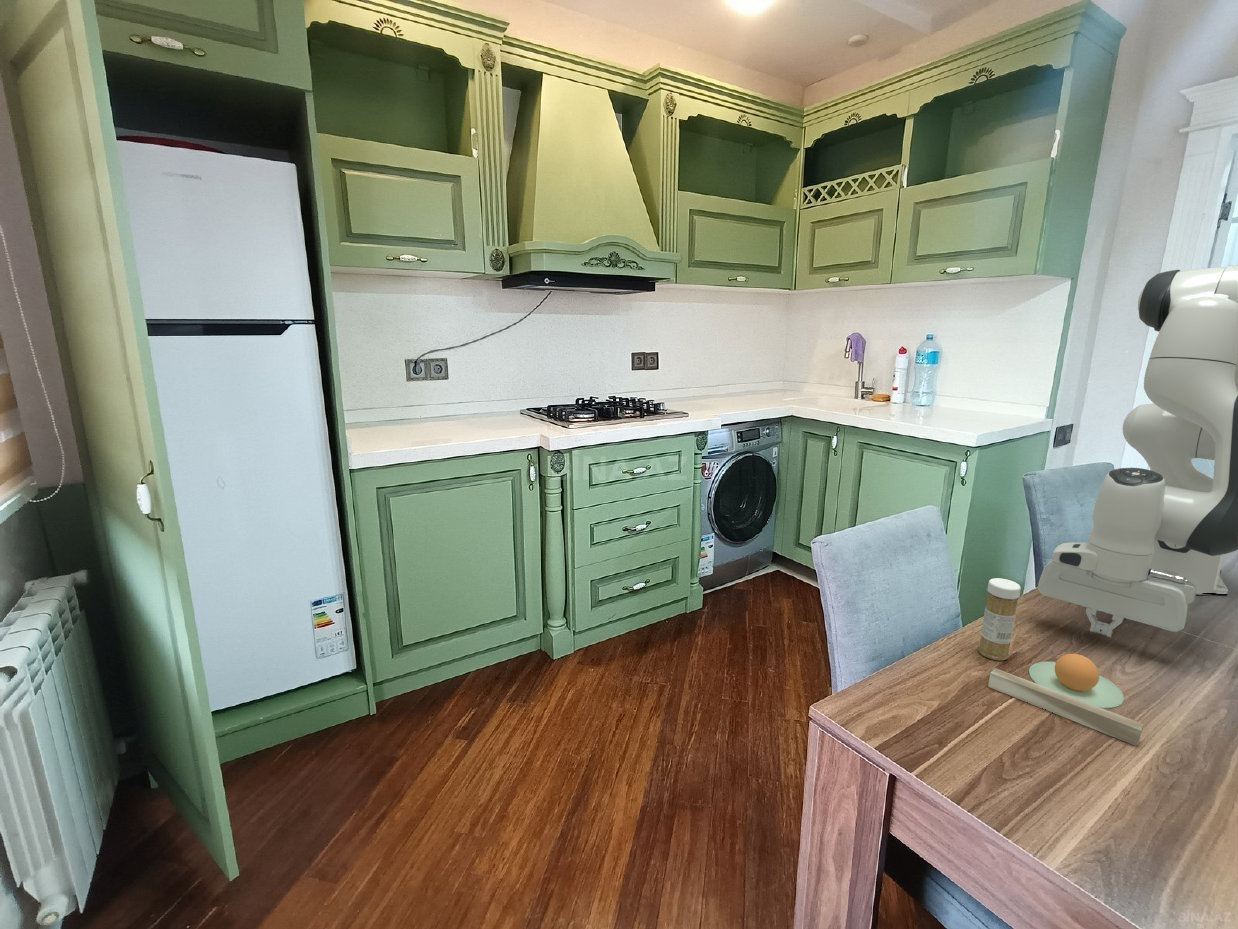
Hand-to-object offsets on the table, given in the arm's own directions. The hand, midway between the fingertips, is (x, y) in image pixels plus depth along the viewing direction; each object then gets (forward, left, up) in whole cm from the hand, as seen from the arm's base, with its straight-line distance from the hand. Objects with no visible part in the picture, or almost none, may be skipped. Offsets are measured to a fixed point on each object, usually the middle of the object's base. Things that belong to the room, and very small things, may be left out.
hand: (1100, 633), depth 105 cm
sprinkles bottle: (+19, -12, -2) cm, 22 cm away
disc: (+19, 0, -2) cm, 19 cm away
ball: (+20, 0, +1) cm, 20 cm away
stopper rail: (+29, 0, -2) cm, 29 cm away
